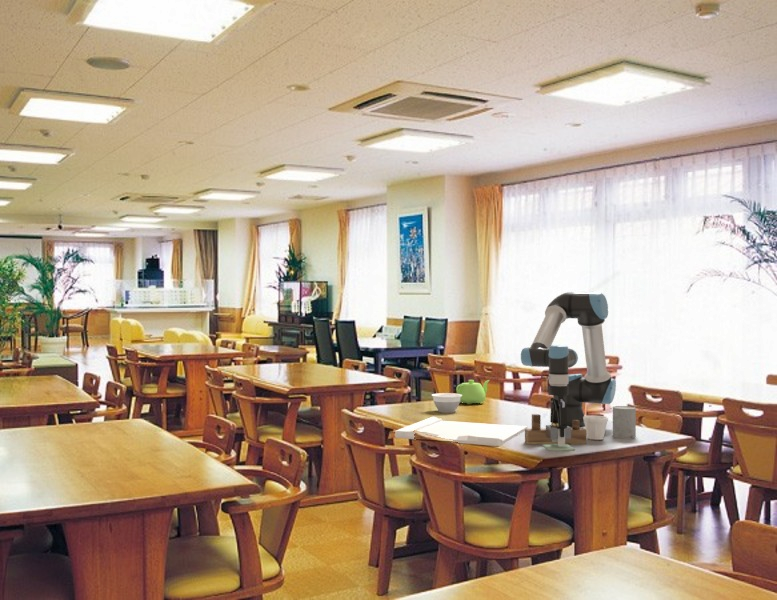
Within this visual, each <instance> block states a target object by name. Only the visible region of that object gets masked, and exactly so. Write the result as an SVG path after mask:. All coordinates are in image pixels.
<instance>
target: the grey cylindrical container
mask: <svg viewBox="0 0 777 600" xmlns="http://www.w3.org/2000/svg"><path fill="white" fill-rule="evenodd" d="M636 412H637V408H636V407H635V406H631V405H630V406H629V405H617V406H612V437H613V438H617V439H635V437H636V438H637V435H636V434H637V433H636V432H637V431H636V430H637V429H636V428H637V427H636V425H637V424H636V423H637V420H636V415H637V414H636Z"/></svg>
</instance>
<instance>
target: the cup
mask: <svg viewBox="0 0 777 600" xmlns="http://www.w3.org/2000/svg"><path fill="white" fill-rule="evenodd" d="M583 420H584V424H585V426H584V427H585V428H584V429H586V438H587V440H590V441H602V440H604V437H605V433H606V429H607V424H608V422H609V421H608V420H609V417H608V416H605V415H594V414H593V415H585V416H584V417H583Z"/></svg>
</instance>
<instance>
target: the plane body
mask: <svg viewBox="0 0 777 600" xmlns="http://www.w3.org/2000/svg"><path fill="white" fill-rule="evenodd" d="M541 420H542V419H541V414H537V413H535V414H533V413H532V414H531V428H527V429H525V431H524V443H525V444H527V445H542V444H558V442H552V440H551V439H549V438H547V437H546V427H545V428H544V427H543V428H542V427H541V424H542V423H541ZM565 444H568V445H570V444H571V445H574V444H575V445H577V444H587V433H586V428H583V427H581V426H580V420H572V427H571V439H565Z"/></svg>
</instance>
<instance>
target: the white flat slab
mask: <svg viewBox="0 0 777 600" xmlns="http://www.w3.org/2000/svg"><path fill="white" fill-rule="evenodd" d="M525 429H528V426H526V425H512V424H511V425H510V424H496V423H483V422H482V423H481V422H467V421H453V420H443V418H440V417H439V418H438V417H436V416H434V415H433V416H431V417H428V418H426V419H423V420H419V421H418V422H415V423H411V424H409V425H407V426H404V427H401V428H399V429H396V430H394V431H395V433H394V437H395V438H396V439H405V440H406V439H408V440H415V439H414V437H415V436H414V434H415V433H416V432H413V431H414V430H417V431H420V433H425V434H428V435H432V436H436V437H441V438H445V439H449V440H453V441H456V442H458V443H457V444H467V445H468V444H469V445H480V446H482V445H483V446H493V447H501V446H502V445H503V444H505V443H507V442H508V441H510V440H512V439H514V438H515V437H517V436H518V435H520V434H522V433H523V432H524V433H525Z"/></svg>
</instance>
